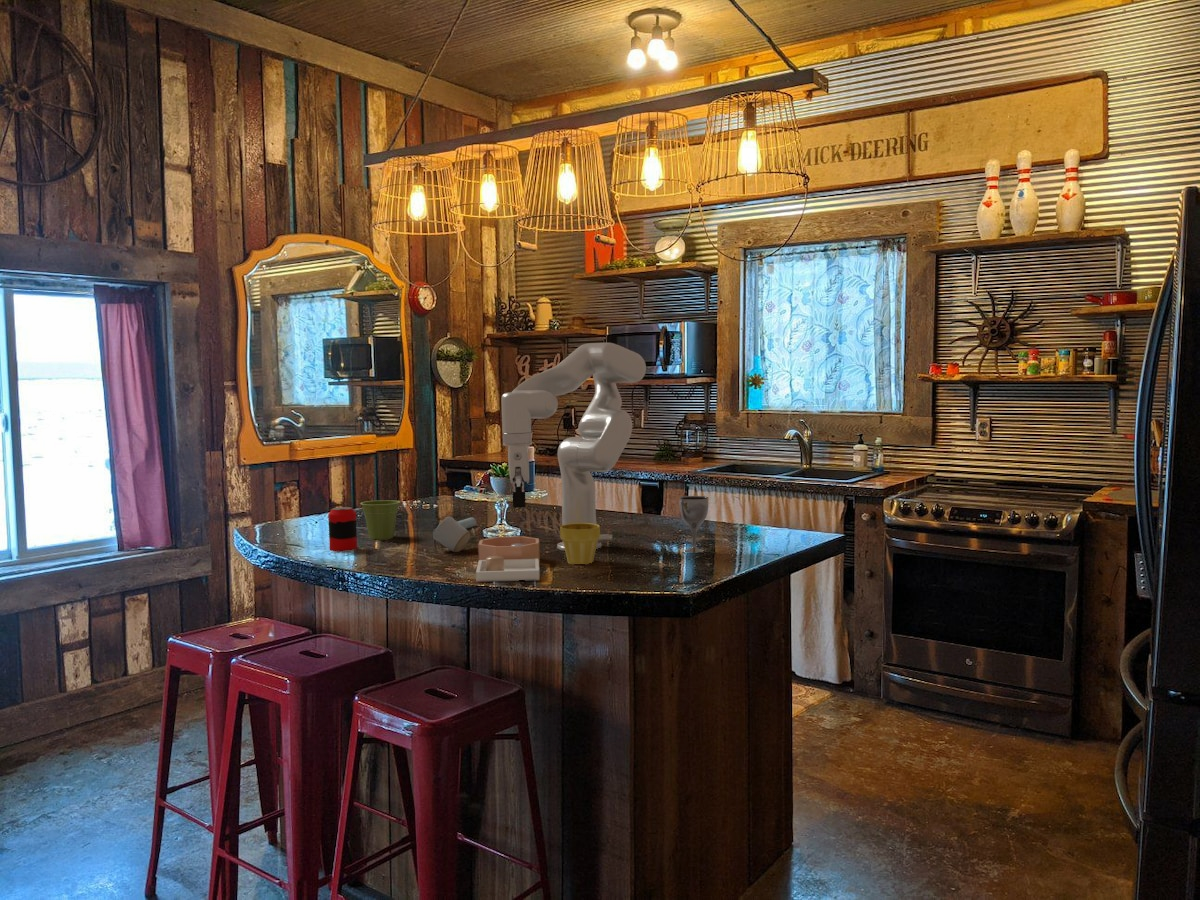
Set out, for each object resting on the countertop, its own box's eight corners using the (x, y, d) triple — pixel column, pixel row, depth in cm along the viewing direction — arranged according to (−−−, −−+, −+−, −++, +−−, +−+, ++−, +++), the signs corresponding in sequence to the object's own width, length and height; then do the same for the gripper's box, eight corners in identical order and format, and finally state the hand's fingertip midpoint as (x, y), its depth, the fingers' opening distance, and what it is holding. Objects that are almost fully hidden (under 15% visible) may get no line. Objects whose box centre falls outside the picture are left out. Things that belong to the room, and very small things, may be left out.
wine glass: (712, 550, 261) (712, 496, 260) (703, 555, 254) (703, 500, 252) (685, 548, 264) (685, 495, 263) (675, 553, 257) (675, 498, 256)
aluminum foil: (442, 539, 287) (442, 528, 287) (423, 538, 290) (423, 527, 289) (476, 527, 309) (476, 517, 308) (458, 527, 311) (458, 516, 311)
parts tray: (538, 568, 239) (538, 558, 239) (539, 580, 224) (539, 570, 224) (479, 569, 238) (478, 560, 238) (476, 582, 223) (475, 572, 223)
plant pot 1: (409, 537, 288) (408, 501, 288) (381, 543, 278) (380, 505, 278) (381, 534, 295) (380, 498, 294) (353, 540, 285) (351, 503, 284)
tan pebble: (504, 571, 233) (504, 555, 233) (504, 575, 229) (503, 558, 228) (486, 571, 233) (486, 556, 233) (485, 575, 228) (485, 559, 228)
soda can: (331, 553, 263) (329, 511, 262) (328, 549, 270) (326, 507, 269) (358, 551, 266) (357, 509, 265) (355, 547, 273) (353, 506, 272)
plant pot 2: (586, 568, 238) (585, 530, 238) (552, 564, 244) (552, 527, 243) (607, 561, 247) (607, 524, 246) (574, 557, 253) (574, 521, 252)
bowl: (538, 555, 256) (538, 535, 255) (539, 567, 240) (539, 545, 240) (480, 557, 255) (480, 537, 254) (478, 569, 239) (477, 547, 239)
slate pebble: (527, 557, 250) (527, 542, 250) (527, 561, 246) (527, 545, 245) (511, 558, 250) (510, 543, 249) (510, 561, 245) (510, 546, 245)
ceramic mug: (453, 559, 261) (459, 540, 257) (430, 542, 263) (436, 523, 258) (474, 540, 269) (481, 521, 265) (452, 524, 271) (458, 505, 267)
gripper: (531, 441, 237) (534, 509, 239) (531, 436, 254) (533, 499, 256) (501, 442, 236) (504, 510, 238) (503, 437, 254) (505, 500, 255)
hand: (519, 504), depth 247 cm, fingers open, 9 cm apart
